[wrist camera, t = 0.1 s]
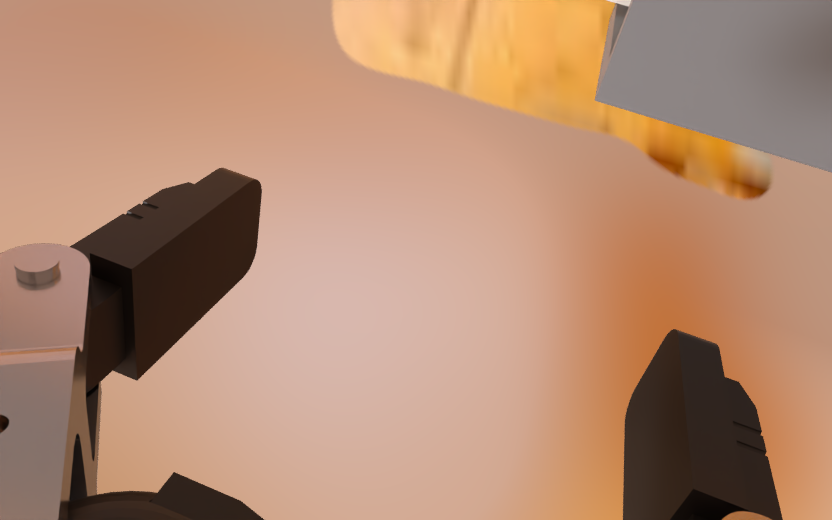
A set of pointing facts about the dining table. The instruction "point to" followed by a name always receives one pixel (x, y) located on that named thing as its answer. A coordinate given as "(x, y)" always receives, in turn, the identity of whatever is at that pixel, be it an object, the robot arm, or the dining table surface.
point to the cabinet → (727, 71)
